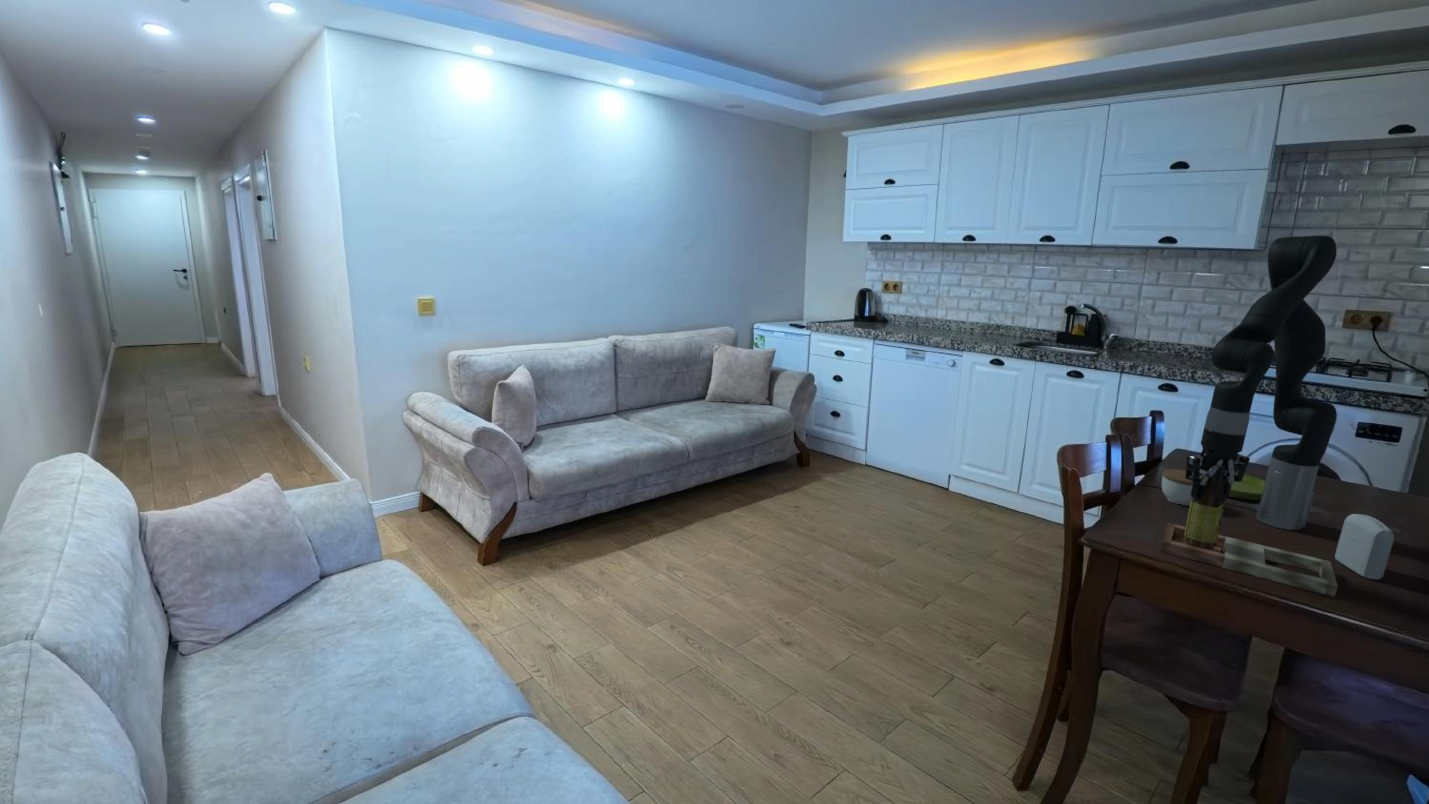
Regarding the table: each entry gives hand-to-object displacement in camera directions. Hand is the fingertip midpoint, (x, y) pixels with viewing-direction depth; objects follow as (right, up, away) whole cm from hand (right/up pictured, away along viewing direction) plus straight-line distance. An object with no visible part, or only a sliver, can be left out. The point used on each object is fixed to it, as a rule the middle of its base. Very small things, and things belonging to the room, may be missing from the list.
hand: (1208, 498), depth 150 cm
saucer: (+40, -4, +44) cm, 59 cm away
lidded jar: (+17, -6, +33) cm, 37 cm away
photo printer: (+31, -16, -4) cm, 35 cm away
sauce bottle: (0, -11, +3) cm, 12 cm away
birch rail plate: (+6, -14, -2) cm, 15 cm away
